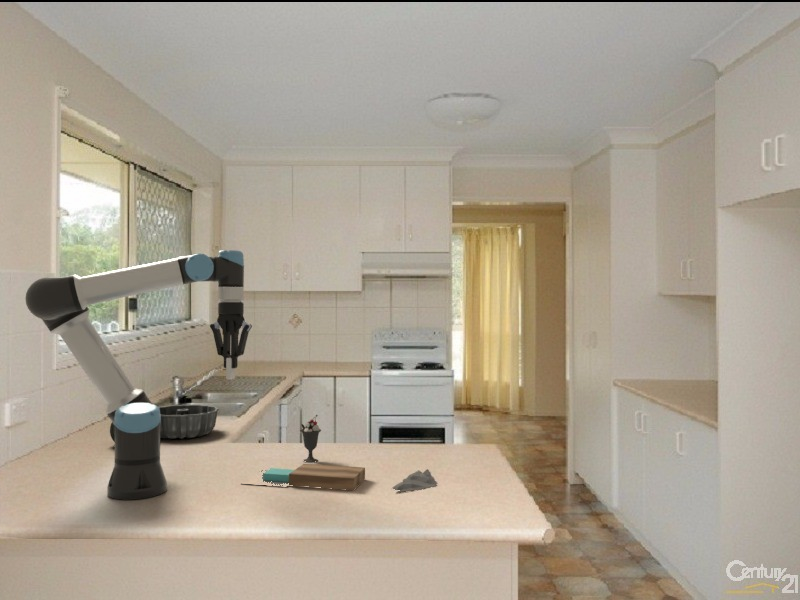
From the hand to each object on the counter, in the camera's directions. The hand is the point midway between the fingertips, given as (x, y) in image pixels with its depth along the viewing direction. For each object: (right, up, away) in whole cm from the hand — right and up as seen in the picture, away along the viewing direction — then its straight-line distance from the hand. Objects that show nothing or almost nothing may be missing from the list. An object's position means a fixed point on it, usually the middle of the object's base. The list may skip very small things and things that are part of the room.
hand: (230, 378), depth 206 cm
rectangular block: (+17, -28, -8) cm, 34 cm away
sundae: (+22, -29, +15) cm, 39 cm away
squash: (-44, -28, +35) cm, 63 cm away
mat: (+15, -29, -7) cm, 33 cm away
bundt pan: (-32, -28, +53) cm, 68 cm away
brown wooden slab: (+31, -29, -11) cm, 43 cm away
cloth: (+56, -30, -9) cm, 64 cm away
